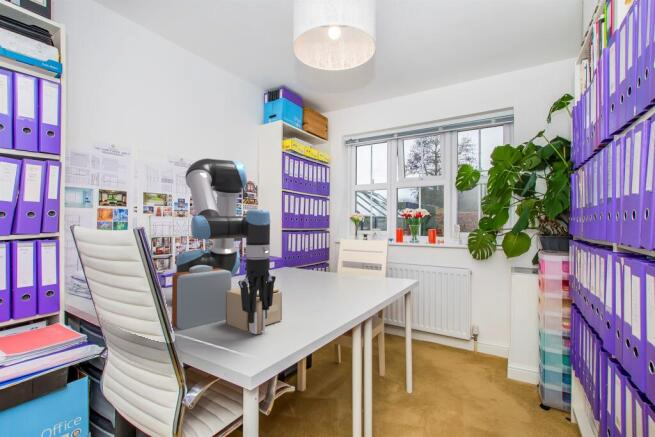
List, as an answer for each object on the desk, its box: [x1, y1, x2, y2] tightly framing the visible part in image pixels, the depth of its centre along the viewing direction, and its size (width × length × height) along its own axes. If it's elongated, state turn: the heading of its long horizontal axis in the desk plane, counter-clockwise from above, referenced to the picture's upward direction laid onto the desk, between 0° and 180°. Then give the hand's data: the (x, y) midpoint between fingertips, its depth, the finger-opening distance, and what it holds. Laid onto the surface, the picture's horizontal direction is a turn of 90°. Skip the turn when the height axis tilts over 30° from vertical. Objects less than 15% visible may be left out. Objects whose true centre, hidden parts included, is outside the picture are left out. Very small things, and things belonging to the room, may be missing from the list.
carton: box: [225, 286, 280, 332], centre depth 112 cm, size 12×14×12 cm
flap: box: [249, 291, 283, 335], centre depth 106 cm, size 6×15×10 cm, turn 140°
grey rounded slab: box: [171, 265, 232, 331], centre depth 113 cm, size 18×9×21 cm, turn 134°
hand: (257, 331), depth 100 cm, fingers closed on flap, 3 cm apart
